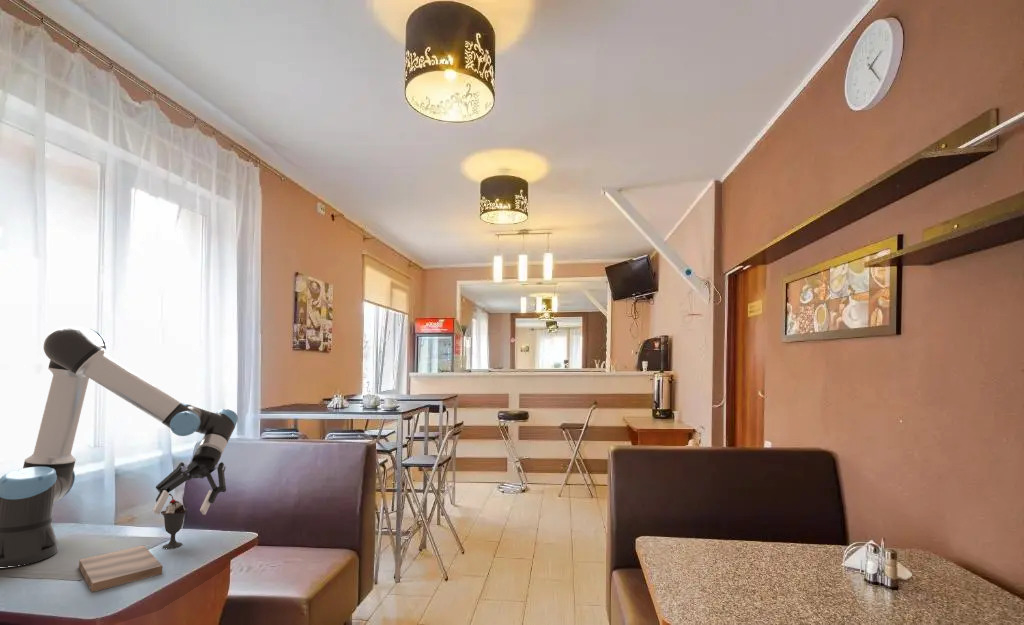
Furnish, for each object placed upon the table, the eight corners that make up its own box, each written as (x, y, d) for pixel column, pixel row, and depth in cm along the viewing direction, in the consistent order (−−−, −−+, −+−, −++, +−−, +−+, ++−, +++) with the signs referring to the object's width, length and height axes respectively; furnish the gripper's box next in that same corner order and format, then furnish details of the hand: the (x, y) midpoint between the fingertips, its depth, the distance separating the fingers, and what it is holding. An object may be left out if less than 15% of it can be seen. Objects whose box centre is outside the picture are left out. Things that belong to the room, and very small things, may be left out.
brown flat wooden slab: (78, 567, 132) (79, 559, 132) (143, 552, 142) (143, 545, 142) (91, 592, 118) (92, 583, 118) (162, 573, 128) (162, 565, 129)
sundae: (160, 543, 149) (164, 492, 150) (187, 540, 151) (190, 489, 153) (155, 551, 143) (159, 497, 144) (183, 548, 145) (187, 495, 147)
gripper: (251, 458, 168) (226, 518, 152) (175, 458, 167) (141, 519, 150) (245, 444, 163) (217, 505, 147) (166, 444, 162) (130, 506, 146)
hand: (179, 512), depth 149 cm, fingers open, 13 cm apart
